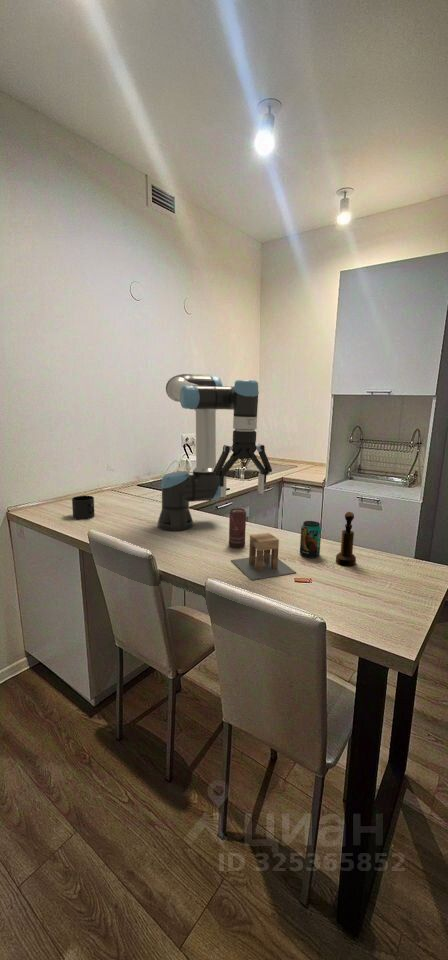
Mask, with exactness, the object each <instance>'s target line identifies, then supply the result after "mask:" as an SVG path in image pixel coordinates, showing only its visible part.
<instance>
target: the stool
mask: <svg viewBox="0 0 448 960" xmlns="http://www.w3.org/2000/svg"><path fill="white" fill-rule="evenodd" d="M279 543H280V539H279V538H278V537H276V536H274V535H273V534H271V533H270V532H265V533H264V532H262V533H255V534H250V535H249V553H248V555H249V556H248V558H249V564H250V565H255V561H256V570H257V571H263V561H264V562H265V563H269V562H270V555H271V568H272V569H277V568H278V559H279V545H280V544H279ZM263 556H264V559H263Z"/></svg>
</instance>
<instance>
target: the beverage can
mask: <svg viewBox="0 0 448 960" xmlns="http://www.w3.org/2000/svg"><path fill="white" fill-rule="evenodd" d="M321 539H322V527H321V523H320V522H318V521H315V520H305V521H303V524H302V525H301V527H300V542H299V543H300V544H299V554H300V555H301V556H302V557H303V558H307V559H315V558H318V557H319V556H320V553H321Z"/></svg>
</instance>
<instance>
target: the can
mask: <svg viewBox="0 0 448 960" xmlns="http://www.w3.org/2000/svg"><path fill="white" fill-rule="evenodd" d="M228 521H229V524H228V525H229V526H228V528H229V531H228V545H229V547H230V548H233V549H241V548H244V547H245V545H246V528H247V527H246V526H247V511H246V510H245V509H244V508H243V509H242V508H231V509H230V511H229V520H228Z"/></svg>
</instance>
